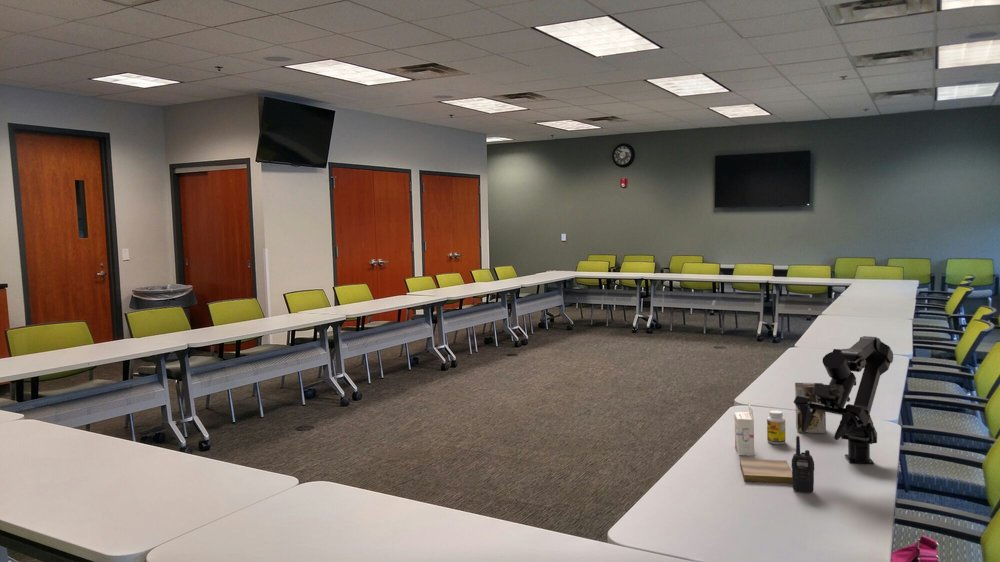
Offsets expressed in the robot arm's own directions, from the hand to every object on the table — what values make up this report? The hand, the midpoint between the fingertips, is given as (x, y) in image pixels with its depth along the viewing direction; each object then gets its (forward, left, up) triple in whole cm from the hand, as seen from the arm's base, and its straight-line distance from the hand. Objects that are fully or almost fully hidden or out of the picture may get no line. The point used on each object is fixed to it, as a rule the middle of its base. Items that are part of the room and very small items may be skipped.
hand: (818, 435), depth 183 cm
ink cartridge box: (-25, -17, -14) cm, 33 cm away
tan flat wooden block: (-5, -13, -13) cm, 19 cm away
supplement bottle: (-36, -6, -14) cm, 39 cm away
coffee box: (-51, +7, -14) cm, 53 cm away
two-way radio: (+6, -5, -14) cm, 16 cm away
